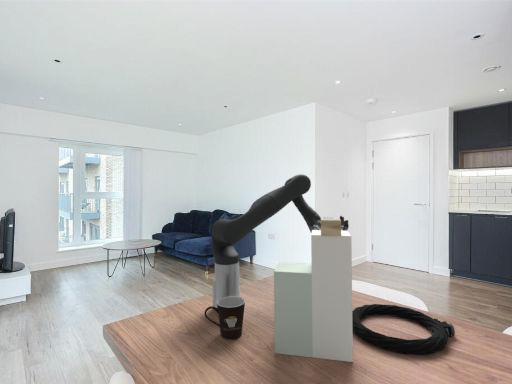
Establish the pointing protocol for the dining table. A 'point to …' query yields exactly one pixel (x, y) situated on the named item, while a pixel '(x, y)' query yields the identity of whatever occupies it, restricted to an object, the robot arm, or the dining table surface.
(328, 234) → the block
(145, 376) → the dining table surface
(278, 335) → the riser
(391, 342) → the cable lock
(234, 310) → the coffee mug
